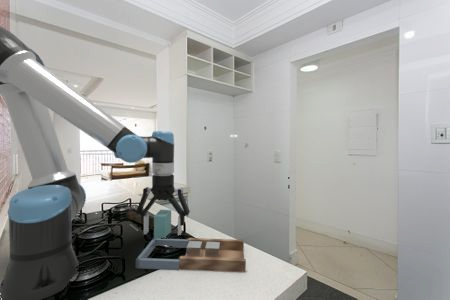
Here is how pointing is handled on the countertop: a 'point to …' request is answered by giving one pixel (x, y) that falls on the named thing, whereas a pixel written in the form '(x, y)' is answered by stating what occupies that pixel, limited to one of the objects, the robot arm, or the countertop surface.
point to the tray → (160, 263)
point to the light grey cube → (212, 249)
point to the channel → (227, 260)
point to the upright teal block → (162, 224)
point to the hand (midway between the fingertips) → (162, 233)
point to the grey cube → (194, 249)
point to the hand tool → (138, 218)
